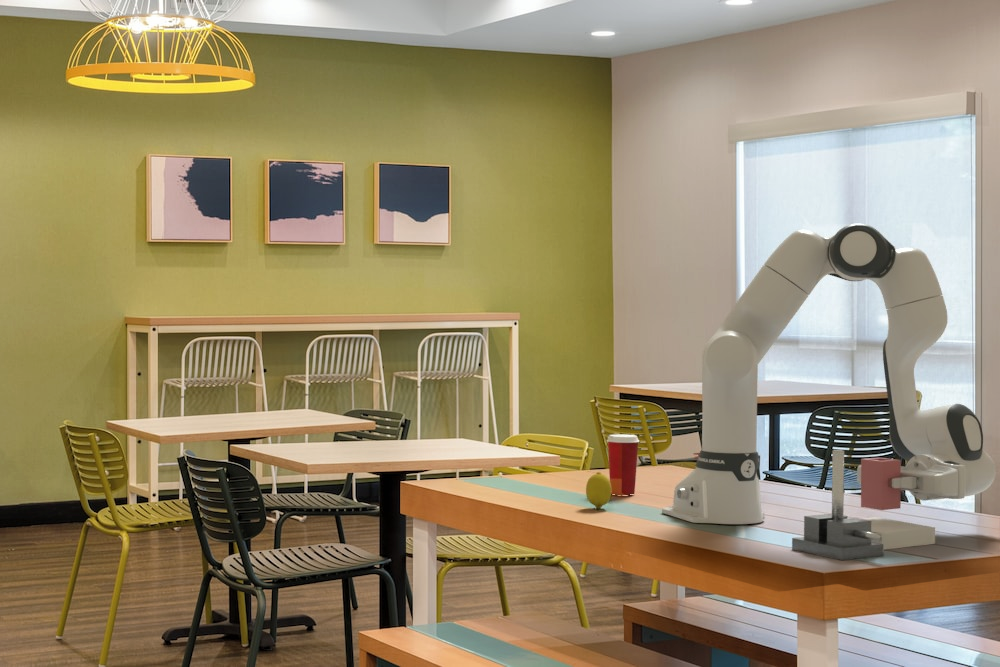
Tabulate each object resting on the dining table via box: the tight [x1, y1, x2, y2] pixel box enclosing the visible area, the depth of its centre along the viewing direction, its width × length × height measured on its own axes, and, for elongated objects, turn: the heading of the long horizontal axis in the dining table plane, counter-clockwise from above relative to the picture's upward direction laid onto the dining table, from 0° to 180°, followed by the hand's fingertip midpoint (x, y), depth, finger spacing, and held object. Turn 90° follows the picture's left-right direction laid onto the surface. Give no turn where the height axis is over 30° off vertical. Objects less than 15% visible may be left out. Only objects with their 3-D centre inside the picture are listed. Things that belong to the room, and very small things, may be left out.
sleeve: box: [860, 457, 902, 511], centre depth 230 cm, size 5×5×9 cm
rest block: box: [861, 516, 936, 551], centre depth 230 cm, size 14×14×3 cm
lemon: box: [585, 471, 612, 510], centre depth 267 cm, size 6×6×8 cm
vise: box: [791, 449, 884, 561], centre depth 216 cm, size 16×10×18 cm, turn 30°
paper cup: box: [606, 433, 640, 495], centre depth 290 cm, size 8×8×14 cm
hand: (877, 481), depth 230 cm, fingers closed on sleeve, 5 cm apart
